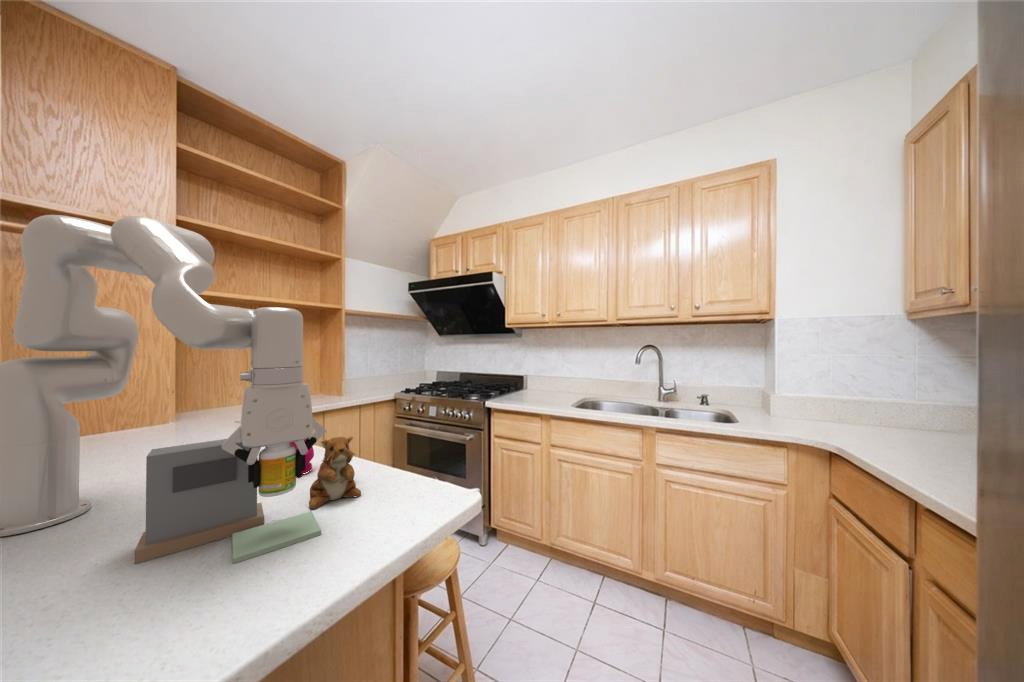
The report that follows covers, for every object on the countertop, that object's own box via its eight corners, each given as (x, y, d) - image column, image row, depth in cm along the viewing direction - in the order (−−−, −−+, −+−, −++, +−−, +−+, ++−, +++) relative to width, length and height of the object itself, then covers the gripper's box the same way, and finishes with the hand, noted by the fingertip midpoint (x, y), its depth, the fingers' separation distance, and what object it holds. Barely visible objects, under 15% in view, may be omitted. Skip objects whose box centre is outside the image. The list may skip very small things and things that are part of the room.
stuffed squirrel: (309, 512, 67) (309, 446, 67) (307, 487, 78) (307, 432, 79) (362, 499, 72) (362, 439, 72) (353, 478, 84) (353, 426, 84)
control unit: (134, 564, 51) (135, 459, 51) (143, 543, 56) (144, 449, 56) (264, 526, 61) (264, 440, 61) (261, 512, 67) (261, 432, 67)
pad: (232, 563, 51) (232, 558, 51) (232, 538, 58) (232, 533, 58) (321, 534, 59) (321, 530, 59) (311, 515, 65) (311, 511, 65)
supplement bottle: (289, 495, 56) (289, 438, 56) (252, 499, 55) (252, 441, 55) (300, 482, 61) (300, 430, 62) (266, 486, 60) (266, 433, 60)
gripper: (211, 383, 50) (211, 503, 50) (336, 375, 61) (336, 473, 61) (213, 379, 56) (213, 487, 55) (327, 373, 67) (327, 463, 67)
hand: (277, 479), depth 58 cm, fingers closed on supplement bottle, 5 cm apart
